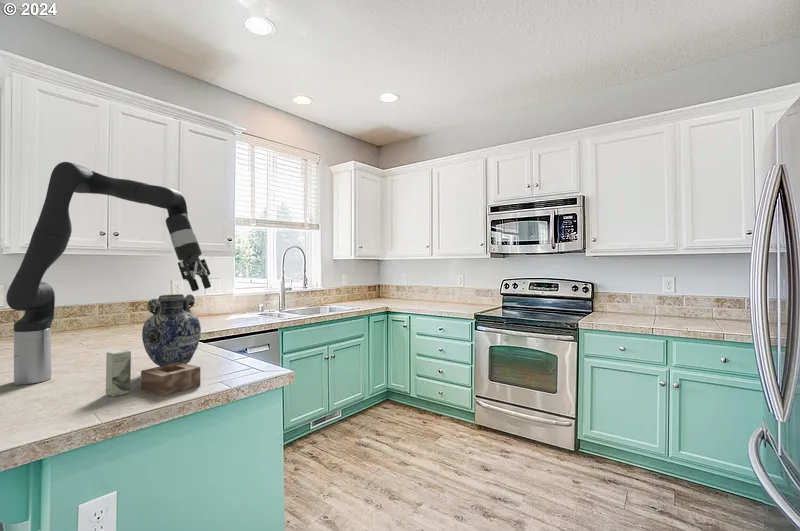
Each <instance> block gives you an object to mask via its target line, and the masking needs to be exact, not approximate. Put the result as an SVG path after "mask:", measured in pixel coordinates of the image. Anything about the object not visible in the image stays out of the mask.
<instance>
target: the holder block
mask: <svg viewBox="0 0 800 531" xmlns="http://www.w3.org/2000/svg"><path fill="white" fill-rule="evenodd" d="M199 385H200V386H201V366H197V365H194V364H189V363H187V364H184V363H180V362H178V363H173V364H169V365H164V366H156V367H153V368H152V367H151V368H147V369H142V370H141V371H140V390H141V391H143V390H144V391H143V392H147V393H150V394H153V393H154V394H153V395H156V394H157V395H156V396H161V397H165V395H166V396H168V394H169V395H172V393H173V394H175V392H176V393H179V392H178V391H180V392H183V391H186V390H185V389H187V390H189V389H188V388H190V389H193V388H196V387H195V386H197V387H200V386H199ZM192 387H193V388H192ZM182 390H183V391H182Z"/></svg>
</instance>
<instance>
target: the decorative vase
mask: <svg viewBox="0 0 800 531" xmlns="http://www.w3.org/2000/svg"><path fill="white" fill-rule="evenodd" d="M195 300H196V299H195V297H194V295H193V294H191V293H189V294H186V295H185V296H184V294H181V293H180V294H163V295H159V296H158V298H152V299H150V300H149V301H148V303H147V305H146V308H147V311H148V312H149V313H151V314H152V315H151V316H150V317H148V318H147V319H146V320H145V322H144V324H143V326H142V330H141V332H142V333H141V337H142V339H141V340H142V344H143V347H144V350H145V353H146V354H147V356H148V357H149V358H150V360H151V361H152V362H153V363H154V364H155V365H157V367H160V366H164V365H169V364H173V363H178V362H180V363H184V364H189V363H190V362H191V359H192V358H193V356H194V354H195V353H196V351H197V348H198V346H199V344H200V339H201V332H202V331H201V328H202V326H201V323H200V320H199V318H198V317H197V316H196V315H195V314H193V312H192V310H191V308H193V306H194V305H195V304H196V303H195Z"/></svg>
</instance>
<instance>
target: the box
mask: <svg viewBox="0 0 800 531" xmlns="http://www.w3.org/2000/svg"><path fill="white" fill-rule="evenodd" d="M105 362H106V363H105V366H106V368H105V394H106V395H107V396H110V397H116V396H120V395H126V394H129V393H131V376H132V375H131V373H132V372H131V370H132V369H131V366H132V364H131V363H132V351H131V350H128V349H119V350H112V351H107V352H106V361H105Z"/></svg>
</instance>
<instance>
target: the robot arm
mask: <svg viewBox="0 0 800 531" xmlns="http://www.w3.org/2000/svg"><path fill="white" fill-rule="evenodd" d="M74 193H77V194H91V195H92V194H93V195H94V194H95V195H96V194H97V195H106V196H109V197H115V198H118V199H121V200H124V201H129V202H132V203H133V202H134V203H137V204H143V205H149V206H153V207H157V208H160V209H166V210H167V214H168V217H167V218H165V226H166V228H167V230H168V233H169V236H170V240H171V244H172V247H173V250H174V253H175V254H176V257H177V260H178V261H179V262H177V265H178V268H179V272H180V274H181V277H182V280H183V281H187V282H188V284H189V288H190V289H191V291H192V292H196V291H199V289H200V287H199V285H198V282H197V280H196V276H198V277H199V278H200V280H201V283H202V284H203V288H204V289H205V290H206V289H209V288H211V287H212V284H211V282H210V279H209V276H210V275H211V272H210V269H209V266H208V264H207V262H206V259H204V258H202V259H200V256H201V255H202V254H203V252H202V250H201V247H200V245H199V242H198V239H197V236H196V234H195V232H194V230H193V228H192V225H191V222H190V220H189V215H188V205H187V202H186V199H185V197H184V195H183V194H182V193H181V192H180V191H179V190H176V189H173V188H169V187H165V186H162V185H153V184H149V183H146V182H141V181H138V180H137V181H136V180H133V179H126V178H125V179H124V178H115V177H111V176H107V175H104V174H101V173H98V172H96V171H94V170H91V169H90V168H88V167H85V166H83V165H79V164H76V163H73V162H69V161H63V162H59V163H58V164H56V165H55V166H54V168H53V170H52V171H51V174H50V178H49V180H48V187H47V191H46V195H45V198H44V203H43V206H42V208H41V211H40V214H39V216H38V220H37V222H36V224H35V227H34V230H33V232H32V234H31V238H30V241H29V244H28V247H27V249H26V251H25V255H24V256H23V259H22V262H21V263H20V266H19V268H18V270H17V272H16V274H15V276H14V278H13V279H12V281H11V283H10V285H9V287H8V290H7V292H6V298H5V299H6V303H7V305H8V307H9V308H10V309H11V310H13V311H18V312H21V311H25V312H24V315H23V316H22V317H20V319H18V320H17V321H15V322H14V324H13V385H14V386H19V385H30V384H37V383H42V382H45V381H49V380H51V379H52V323H53V321H54V317H55V306H56V305H55V304H56V303H55V302H56V296H55V295H56V294H55V291H54V288H53V287H52V285H50V284H49V283H47V282H44V281H42V280H43V276H44V274H45V273H46V272H47V270H48V269H49V268H50V267H51V266H52V265H53V264H54V263H55V262H56V261H57V260H58V259H59V258H60V257H61V256H62V254H64V252H65V251H66V249H67V247H68V243H69V241H70V239H71V235H72V230H73V228H72V221H71V218H70V210H69V209H70V204H71V200H72V198H73V195H74Z"/></svg>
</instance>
